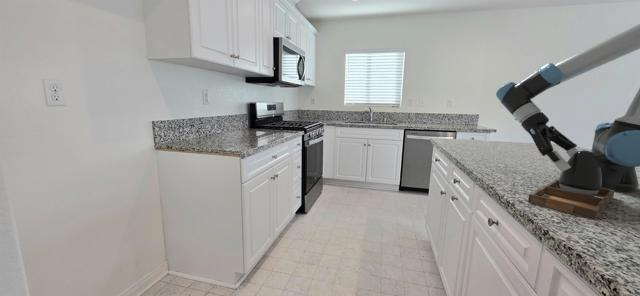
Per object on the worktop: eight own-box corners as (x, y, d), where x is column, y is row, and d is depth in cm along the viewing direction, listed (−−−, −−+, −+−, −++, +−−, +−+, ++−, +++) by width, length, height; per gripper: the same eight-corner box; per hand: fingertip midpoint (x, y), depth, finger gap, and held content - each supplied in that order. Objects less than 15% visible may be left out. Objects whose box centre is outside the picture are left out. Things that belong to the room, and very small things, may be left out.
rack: (555, 185, 99) (556, 179, 98) (613, 197, 87) (614, 190, 87) (527, 202, 82) (528, 194, 82) (594, 220, 70) (596, 211, 70)
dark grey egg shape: (608, 202, 83) (619, 154, 80) (569, 199, 85) (579, 152, 82) (584, 191, 93) (593, 148, 90) (549, 189, 95) (557, 146, 92)
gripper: (538, 123, 107) (580, 169, 97) (502, 125, 95) (546, 177, 85) (557, 110, 101) (603, 157, 91) (521, 111, 90) (570, 165, 80)
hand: (576, 167), depth 88 cm, fingers open, 13 cm apart
